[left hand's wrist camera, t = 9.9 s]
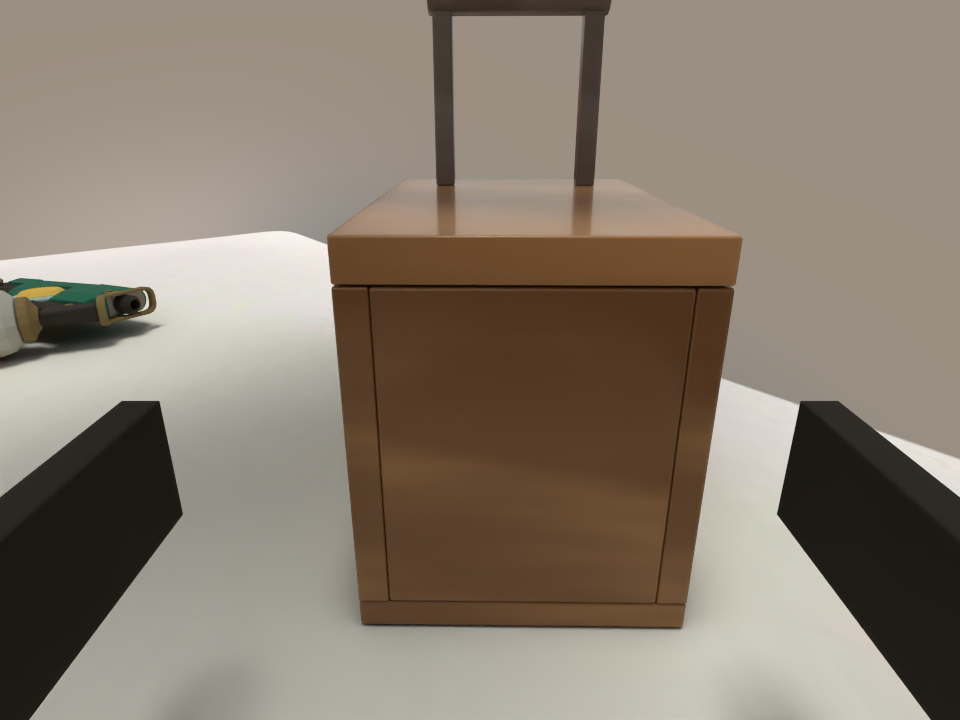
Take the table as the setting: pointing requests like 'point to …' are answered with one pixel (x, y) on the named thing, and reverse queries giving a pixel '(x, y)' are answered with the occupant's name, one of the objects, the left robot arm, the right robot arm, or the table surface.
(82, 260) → the table surface
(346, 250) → the lid
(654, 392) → the chest
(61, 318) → the spray gun
